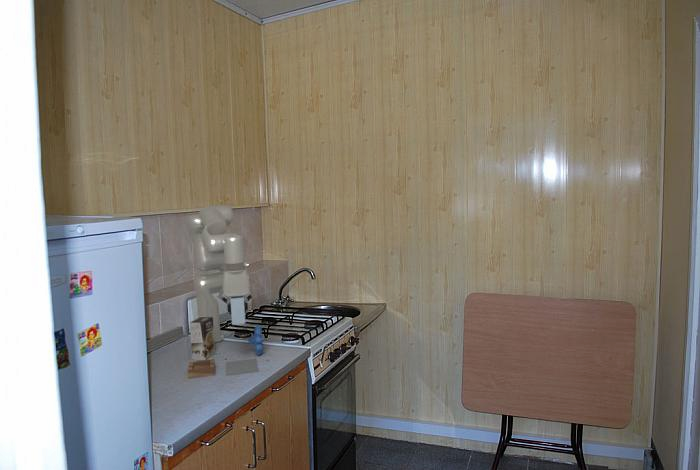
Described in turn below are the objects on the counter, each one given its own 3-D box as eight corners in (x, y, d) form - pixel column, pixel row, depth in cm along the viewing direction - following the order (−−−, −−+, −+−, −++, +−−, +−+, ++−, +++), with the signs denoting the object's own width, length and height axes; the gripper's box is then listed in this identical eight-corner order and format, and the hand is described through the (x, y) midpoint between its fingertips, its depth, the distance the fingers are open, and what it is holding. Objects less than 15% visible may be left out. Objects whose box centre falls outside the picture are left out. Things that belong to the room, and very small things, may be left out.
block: (231, 321, 189) (230, 296, 188) (244, 320, 190) (243, 295, 189) (232, 324, 184) (230, 299, 183) (245, 323, 185) (243, 298, 184)
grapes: (249, 350, 209) (247, 323, 208) (264, 348, 210) (263, 321, 209) (249, 359, 198) (247, 330, 197) (265, 357, 199) (263, 329, 198)
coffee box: (205, 360, 198) (203, 322, 197) (191, 359, 200) (188, 322, 198) (216, 353, 207) (213, 316, 206) (202, 352, 209) (199, 316, 207)
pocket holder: (189, 369, 189) (189, 362, 188) (215, 366, 191) (214, 359, 191) (188, 378, 179) (187, 370, 179) (214, 375, 182) (214, 367, 181)
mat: (225, 363, 194) (225, 362, 194) (255, 359, 197) (255, 358, 197) (225, 375, 181) (225, 374, 181) (258, 371, 184) (258, 370, 184)
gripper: (256, 264, 191) (259, 308, 193) (212, 267, 187) (215, 312, 188) (257, 266, 184) (260, 313, 185) (212, 270, 179) (215, 317, 181)
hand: (237, 312), depth 187 cm, fingers closed on block, 5 cm apart
